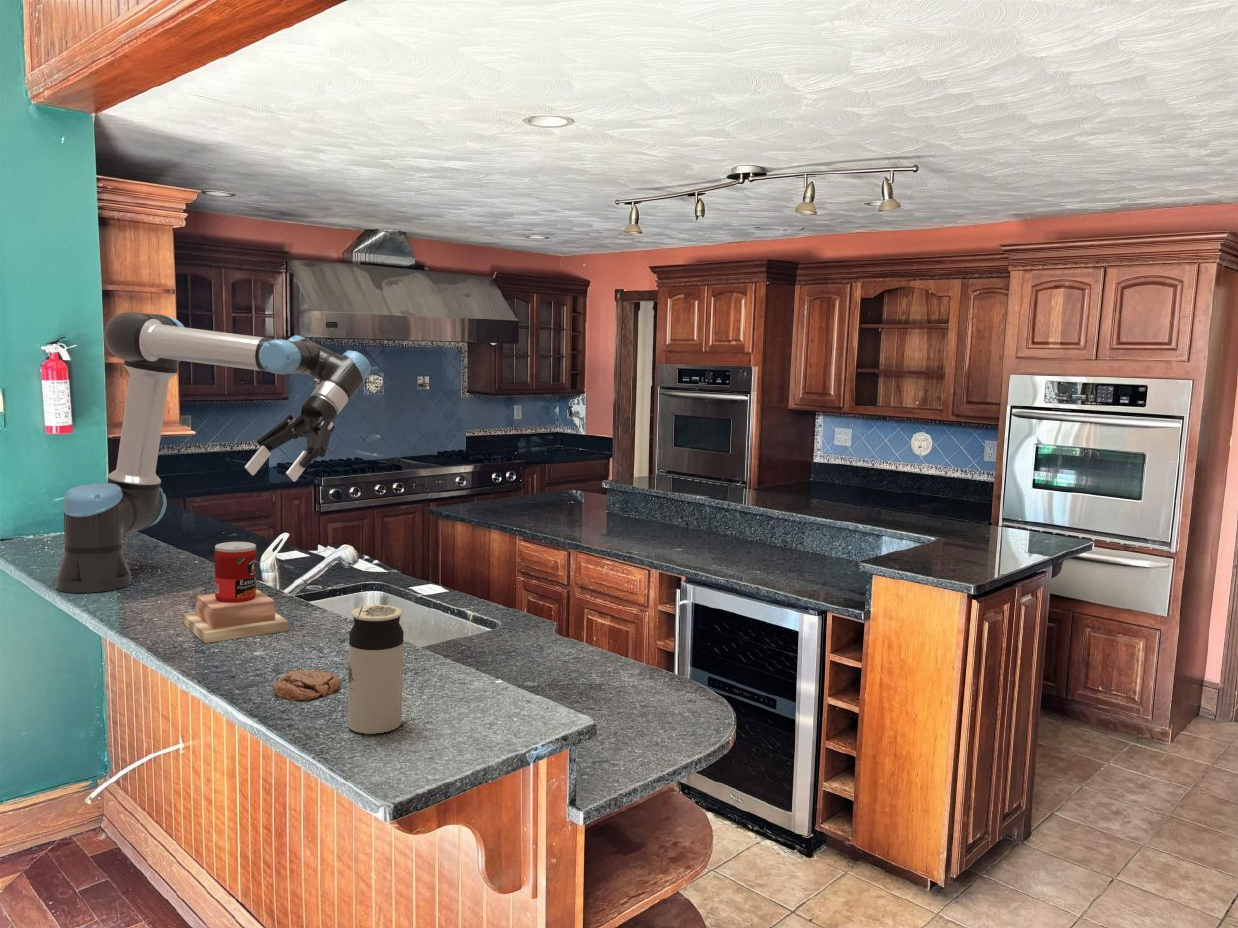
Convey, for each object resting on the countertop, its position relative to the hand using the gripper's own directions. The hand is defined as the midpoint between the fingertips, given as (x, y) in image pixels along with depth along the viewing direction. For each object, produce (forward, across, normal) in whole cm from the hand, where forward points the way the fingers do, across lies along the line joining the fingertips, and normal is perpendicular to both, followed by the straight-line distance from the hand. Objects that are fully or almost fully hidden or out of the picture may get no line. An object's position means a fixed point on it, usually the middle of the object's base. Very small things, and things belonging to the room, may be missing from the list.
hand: (269, 474), depth 196 cm
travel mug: (+45, -67, +3) cm, 80 cm away
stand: (+31, -8, -11) cm, 34 cm away
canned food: (+27, -8, -7) cm, 29 cm away
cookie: (+42, -47, 0) cm, 63 cm away
